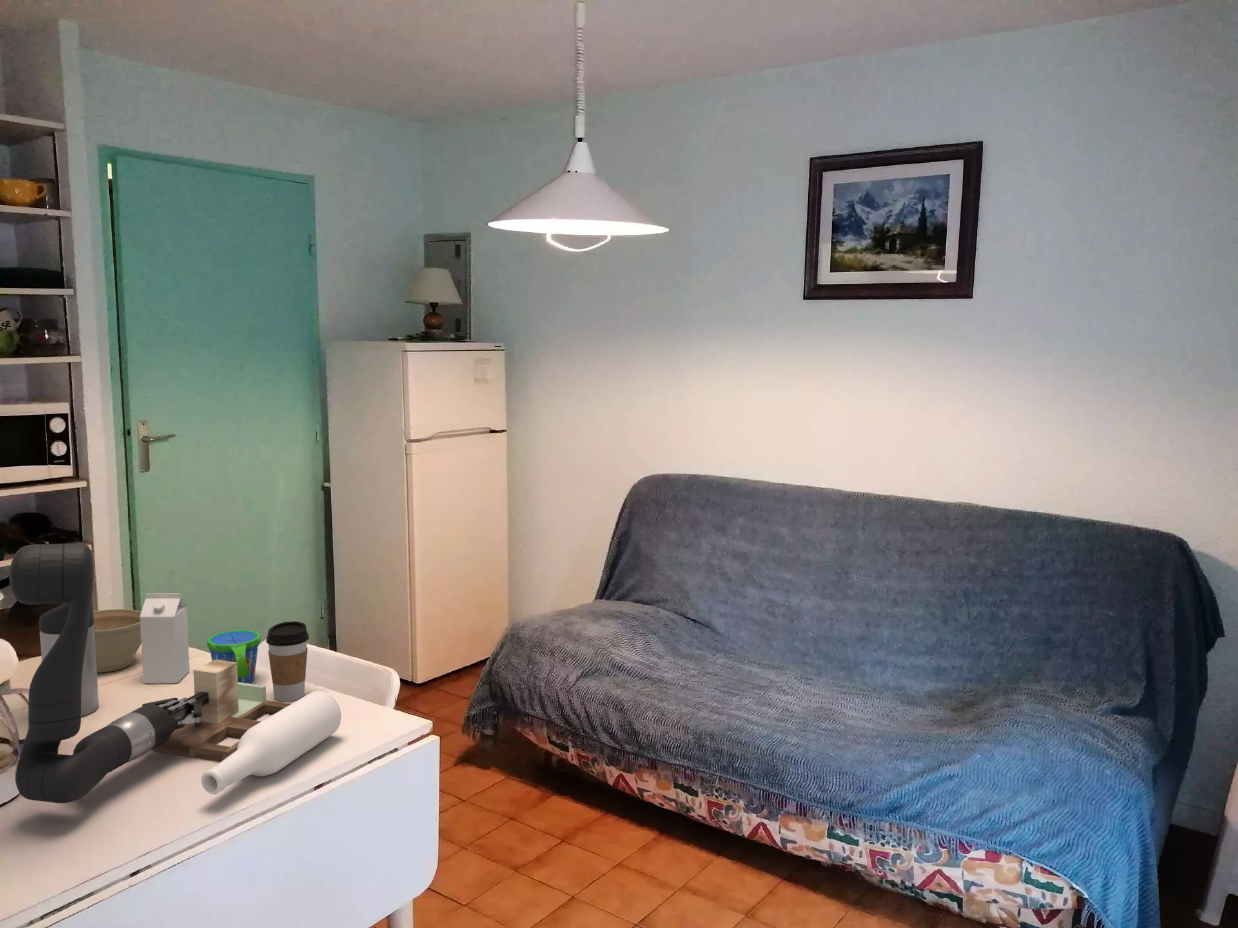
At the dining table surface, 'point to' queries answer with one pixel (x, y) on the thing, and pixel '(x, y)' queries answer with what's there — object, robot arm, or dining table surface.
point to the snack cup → (236, 651)
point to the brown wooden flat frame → (216, 734)
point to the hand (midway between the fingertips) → (205, 696)
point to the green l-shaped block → (249, 697)
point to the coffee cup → (288, 659)
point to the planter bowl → (116, 638)
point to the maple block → (218, 690)
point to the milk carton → (164, 638)
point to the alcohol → (277, 741)
